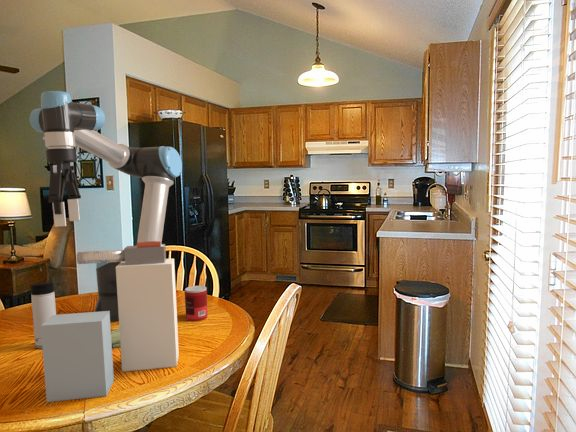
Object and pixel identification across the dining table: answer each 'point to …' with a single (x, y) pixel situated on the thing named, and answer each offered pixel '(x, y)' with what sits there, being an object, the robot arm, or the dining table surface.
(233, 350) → the dining table surface
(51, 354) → the low stand
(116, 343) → the washcloth
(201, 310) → the canned food
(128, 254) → the grey piece
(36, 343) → the travel mug
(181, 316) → the dining table surface
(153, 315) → the tall stand
